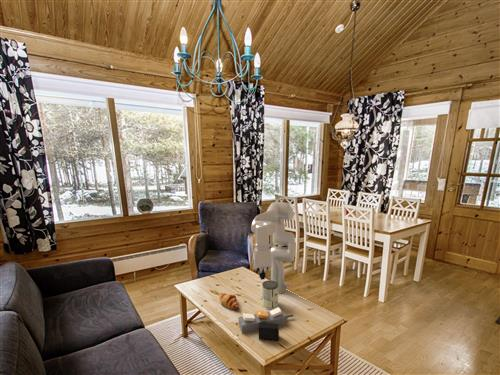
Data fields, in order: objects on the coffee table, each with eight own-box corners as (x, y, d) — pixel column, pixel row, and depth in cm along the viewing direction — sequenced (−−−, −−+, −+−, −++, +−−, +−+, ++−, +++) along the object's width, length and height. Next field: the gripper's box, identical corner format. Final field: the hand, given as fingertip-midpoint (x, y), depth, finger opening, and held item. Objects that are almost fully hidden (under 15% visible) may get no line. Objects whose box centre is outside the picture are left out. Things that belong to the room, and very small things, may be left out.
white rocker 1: (252, 316, 139) (253, 314, 139) (254, 321, 136) (255, 318, 136) (242, 316, 138) (243, 313, 138) (244, 320, 134) (245, 317, 134)
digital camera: (278, 334, 131) (278, 322, 130) (278, 341, 126) (278, 328, 125) (259, 332, 132) (259, 320, 132) (258, 340, 127) (258, 327, 126)
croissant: (217, 302, 167) (212, 294, 165) (228, 292, 172) (223, 284, 170) (234, 317, 150) (228, 308, 148) (245, 305, 155) (240, 296, 153)
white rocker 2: (279, 309, 144) (278, 307, 143) (281, 313, 140) (281, 311, 140) (269, 313, 142) (269, 311, 142) (272, 317, 138) (271, 315, 138)
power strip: (289, 314, 148) (289, 307, 148) (295, 322, 140) (295, 315, 140) (238, 323, 140) (238, 316, 139) (241, 333, 132) (241, 325, 132)
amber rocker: (265, 314, 142) (266, 311, 142) (268, 318, 138) (268, 315, 138) (256, 313, 140) (256, 310, 140) (258, 317, 136) (258, 314, 136)
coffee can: (264, 299, 165) (264, 279, 164) (279, 301, 162) (279, 281, 160) (260, 307, 155) (260, 286, 154) (276, 310, 152) (276, 289, 151)
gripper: (272, 243, 141) (272, 274, 142) (247, 245, 137) (247, 277, 138) (277, 247, 133) (277, 279, 135) (251, 250, 129) (251, 283, 131)
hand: (262, 278), depth 137 cm, fingers closed
